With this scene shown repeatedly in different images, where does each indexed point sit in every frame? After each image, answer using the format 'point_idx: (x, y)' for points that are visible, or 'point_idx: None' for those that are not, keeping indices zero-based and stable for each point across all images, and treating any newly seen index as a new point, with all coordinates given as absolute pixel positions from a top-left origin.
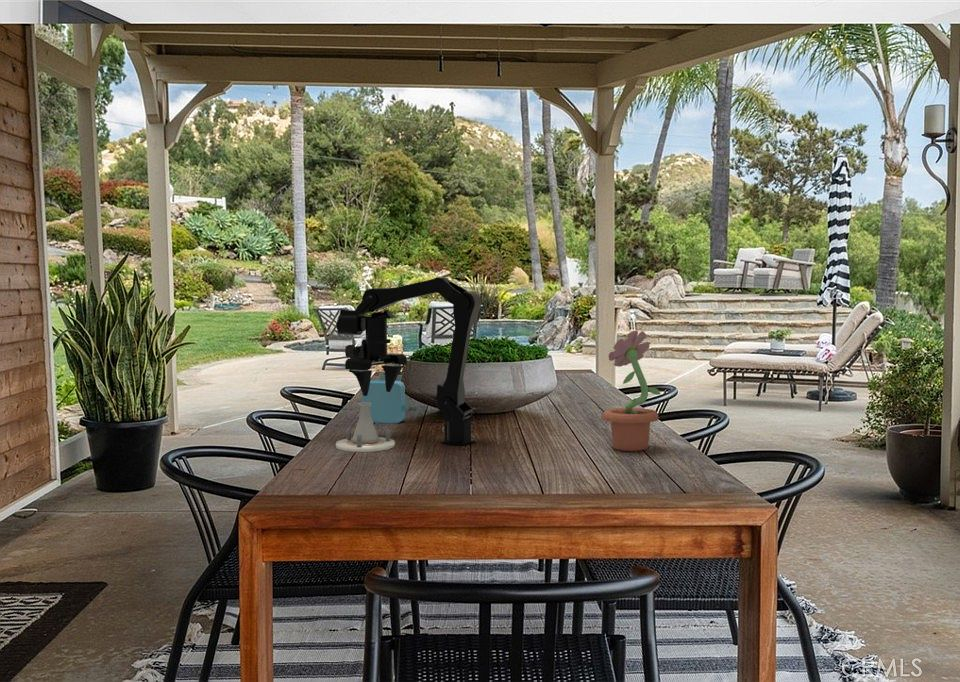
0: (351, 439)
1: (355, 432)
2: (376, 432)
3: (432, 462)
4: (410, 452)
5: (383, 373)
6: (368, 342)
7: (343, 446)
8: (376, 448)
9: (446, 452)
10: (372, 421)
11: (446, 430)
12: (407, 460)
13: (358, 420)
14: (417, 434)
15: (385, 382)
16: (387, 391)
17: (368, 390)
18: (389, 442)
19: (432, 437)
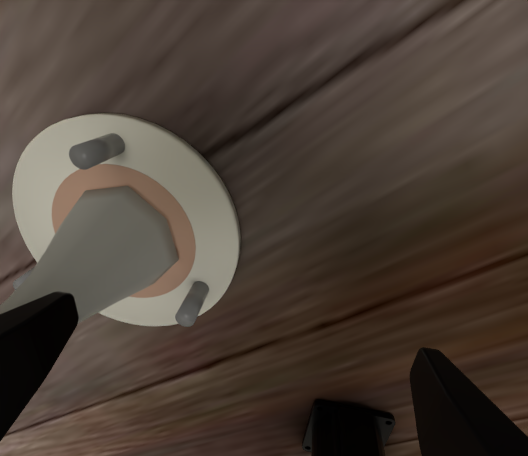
0: (123, 152)
1: (55, 235)
2: (129, 295)
3: (109, 442)
4: (156, 376)
5: None
6: None
7: (17, 211)
8: None
9: (212, 438)
10: (90, 315)
11: (334, 445)
12: (84, 401)
13: (36, 265)
14: (443, 279)
15: (481, 442)
16: (417, 359)
17: (41, 379)
18: (176, 307)
19: (399, 347)
